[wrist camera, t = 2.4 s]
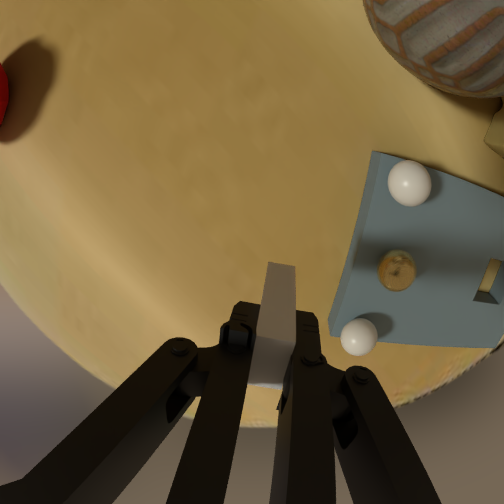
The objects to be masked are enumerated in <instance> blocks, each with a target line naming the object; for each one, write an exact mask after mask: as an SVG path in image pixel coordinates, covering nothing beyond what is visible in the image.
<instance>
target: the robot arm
mask: <svg viewBox="0 0 504 504" xmlns="http://www.w3.org/2000/svg"><path fill="white" fill-rule="evenodd" d="M318 327H319V325H318V319H317V318H316V316H315V315H314V313H311V312H305V311H299V310H296V287H295V266H290V265H284V264H278V263H273V262H268V268H267V273H266V279H265V284H264V290H263V295H262V301H261V305H259V304H254V303H248V302H243V301H240V302H238V303H237V304H236V305H235V306H234V307H233V311H232V314H231V317H230V320H229V321H228V322H226V323H224V324H223V325H222V326H221V328H220V338H219V344H217V345H216V346H213V347H207V348H197V346H196V344H195V343H194V342H193V341H191V340H190V339H186V338H180V337H176V338H172V339H169V340H168V341H166V342H165V343H164V344H163V345H162V346H161V347H160V348H159V349H158V350H157V351H155V352H154V353H153V354H152V355H151V356H150V357H149V358H148V359H147V360H146V361H145V362H144V363H143V364H142V365H141V366H140V367H139V368H138V369H137V370H136V371H135V372H134V373H133V374H132V375H130V376H129V377H128V378H127V379H126V380H125V381H124V382H123V383H122V384H121V385H120V386H119V387H118V388H117V389H116V390H115V391H114V392H113V393H112V394H111V395H110V396H109V397H108V398H106V399H105V400H104V401H103V402H102V403H101V404H100V405H99V406H98V407H97V408H96V409H95V410H94V411H93V412H92V413H91V414H90V415H89V416H88V417H87V418H86V419H85V420H83V421H82V422H81V423H80V424H79V425H78V426H77V427H76V428H75V429H74V430H73V431H72V432H71V433H70V434H69V435H68V436H67V437H66V438H65V439H64V440H62V441H61V442H60V443H59V444H58V445H57V446H56V447H55V448H54V449H53V450H52V451H51V452H50V453H49V454H48V455H47V456H46V457H45V458H43V459H42V460H41V461H40V462H39V463H38V464H37V465H36V466H35V467H34V468H33V469H32V470H31V471H30V472H29V473H28V474H26V475H25V476H24V478H22V479H20V480H17V481H14V482H11V483H8V484H5V485H2V486H0V504H112V503H113V502H114V501H115V500H116V498H117V497H118V496H119V495H120V494H121V492H122V491H123V490H124V489H125V488H126V486H127V485H128V484H129V483H130V482H131V480H132V479H133V478H134V477H135V475H136V474H137V473H138V472H139V470H140V469H141V468H142V467H143V465H144V464H145V463H146V462H147V461H148V459H149V458H150V457H151V455H152V454H153V453H154V452H155V450H156V449H157V448H158V447H159V445H160V444H161V443H162V441H163V440H164V439H165V438H166V436H167V435H168V434H169V432H170V431H171V430H172V429H173V427H174V426H175V424H176V423H177V422H178V421H179V419H180V418H181V417H182V415H183V414H184V413H185V411H186V410H187V409H188V407H189V406H190V405H191V403H192V402H193V401H194V399H195V397H198V396H201V399H200V402H199V405H198V408H197V411H196V414H195V417H194V420H193V424H192V426H191V430H190V432H189V435H188V438H187V441H186V444H185V448H184V450H183V453H182V456H181V459H180V463H179V465H178V468H177V471H176V474H175V477H174V480H173V483H172V487H171V489H170V492H169V495H168V499H167V502H166V504H223V503H224V498H225V493H226V489H227V484H228V479H229V475H230V470H231V465H232V460H233V455H234V450H235V445H236V440H237V435H238V430H239V425H240V420H241V415H242V410H243V404H244V399H245V394H246V388H247V384H249V385H255V386H261V387H267V388H273V389H280V390H281V388H282V385H283V391H282V394H281V397H280V400H279V403H278V406H277V409H276V410H279V415H278V426H277V437H276V447H275V457H274V468H273V476H272V485H271V493H270V501H269V504H336V480H335V456H334V447H335V450H336V453H337V456H338V459H339V462H340V465H341V468H342V471H343V474H344V477H345V479H346V483H347V485H348V488H349V491H350V494H351V497H352V500H353V503H354V504H441V502H440V499H439V497H438V495H437V493H436V491H435V489H434V486H433V484H432V482H431V480H430V478H429V476H428V474H427V472H426V470H425V468H424V466H423V464H422V462H421V460H420V458H419V456H418V454H417V452H416V450H415V448H414V446H413V444H412V442H411V440H410V438H409V437H408V435H407V433H406V431H405V429H404V427H403V425H402V423H401V421H400V419H399V418H398V416H397V414H396V412H395V410H394V408H393V406H392V405H391V403H390V401H389V399H388V397H387V395H386V394H385V392H384V390H383V388H382V386H381V385H380V383H379V381H378V379H377V378H376V376H375V374H374V373H373V372H372V371H371V370H369V369H368V368H366V367H363V366H352V367H349V368H348V369H347V370H346V372H345V371H342V370H340V369H337V368H334V367H332V366H331V365H329V364H328V363H327V360H326V358H325V356H324V355H323V354H322V353H321V344H320V334H319V328H318Z"/></svg>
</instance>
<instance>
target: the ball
mask: <svg viewBox="0 0 504 504" xmlns="http://www.w3.org/2000/svg"><path fill="white" fill-rule="evenodd" d="M416 275H417V266H416V263H415V260H414V258H413V257H412V256H411V255H410V254H409V253H408V252H406V251H404V250H400V249H394V250H390V251H388V252H386V253H385V254H384V255H383V256H382V257H381V258H380V260H379V262H378V265H377V277H378V280H379V282H380V283H381V285H382V286H383V287H384V288H385V289H387V290H389V291H392V292H401V291H404V290H406V289H408V288H409V287H410V286H411V285H412V284H413V282H414V281H415V278H416Z"/></svg>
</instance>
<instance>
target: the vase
mask: <svg viewBox="0 0 504 504" xmlns="http://www.w3.org/2000/svg"><path fill="white" fill-rule="evenodd" d="M363 6H364V9H365V13H366V16H367V18H368V20H369V23H370V25H371V27H372V29H373V31H374V33H375V35H376V37H377V38H378V40H379V41H380V43H381V44H382V45H383V47H384V48H385V49H386V50H387V52H388V53H389V54H390V55H391V56H392V57H393V58H394V59H395V60H396V61H397V62H398V63H399V64H400V65H401V66H402V67H403V68H405V69H406V70H407V71H408V72H410V73H411V74H413V75H414V76H415V77H417V78H419V79H420V80H422V81H424V82H425V83H427V84H429V85H431V86H433V87H435V88H437V89H440V90H442V91H445V92H448V93H451V94H454V95H458V96H463V97H469V98H498V97H504V0H363Z"/></svg>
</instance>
